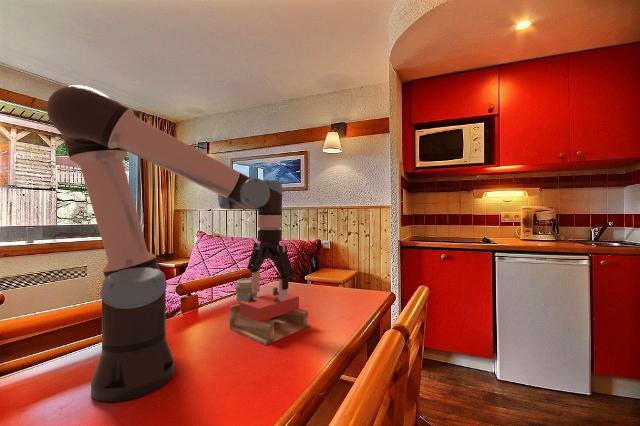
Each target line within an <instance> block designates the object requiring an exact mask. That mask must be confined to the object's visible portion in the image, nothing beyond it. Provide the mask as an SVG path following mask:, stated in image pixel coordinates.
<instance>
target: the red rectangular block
mask: <svg viewBox="0 0 640 426" xmlns="http://www.w3.org/2000/svg"><path fill="white" fill-rule="evenodd" d="M297 309H300V296H298V295H294V294H290V293H287V299H286V300H282V301H279V290H278V295H275V296H274V295H273V294H269V293H267V294H263V295H260V296H257V297H256V298H253V302H249V303H248V302H245V301H241V302H239V315H241V316H243V317H246V318H249V319H251V320H254V321H256V322H262V321H265V320H268V319H271V318H274V317H277V316H279V315H282V314H285V313H288V312H291V311H294V310H297Z"/></svg>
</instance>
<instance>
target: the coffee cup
mask: <svg viewBox="0 0 640 426" xmlns="http://www.w3.org/2000/svg"><path fill="white" fill-rule="evenodd" d="M234 288H235V293H236V300H237V302H236V303H237V304H239V302H241V301H245V302H248V294H250V293H252V281H251V278H250V277H249V278H247V277H246V278H240V279H237V280H236V282H235V284H234ZM252 294H253V298H256V297H258V292H255V293H252Z"/></svg>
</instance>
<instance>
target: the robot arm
mask: <svg viewBox="0 0 640 426" xmlns="http://www.w3.org/2000/svg"><path fill="white" fill-rule="evenodd" d="M46 113H47V116H48V119H49V121H50V122H51V124H52V125H53V127H54V128H55V129H56V130H57V131H58V132H59V133H60V134H61V135H62V138H63V139H62V140H63V141H64V145H65V149H66V151H67V154H68V158H69V160H70V162H73V163H74V164H76V165H78V166H79V167H80V169H81V174H82V177H83V181H84V183H85V186H86V190H87V194H88V197H89V201H90V204H91V208H92V211H93V214H94V218H95V221H96V225H97V227H98V231H99V234H100V238H101V242H102V244H103V245H102V246H103V248H104V252H105V255H106V259H107V263H106V265H105V266H104V268H103V269H102V271H103V275H104V279H103V281H102V286H101V289H100V298H101V353H100V356H99V359H98V362H97V365H96V367H95V371H94V373H93V375H92V379H91V381H90V395H91V397H92V398H93V400H95V401H98V402H102V403H118V402H124V401H125V402H126V401H130V400H134V399H137V398H140V397H143V396H146V395H147V394H148V395H149V394H151V393H153V392H154V391H156V390H158V389H160V388H162V387H163V386H165V385H166V384H167V383H169V381H171V379H173V377H174V375H175V371H176V370H175V360H174V356H173V353H172V351H171V349H170V346H169V344H168V341H167V338H166V337H167V335H166V333H167V332H166V331H167V330H166V329H167V328H166V325H167V324H166V323H167V322H166V320H167V319H166V317H167V316H166V313H167V312H166V311H167V310H166V302H167V300H166V289H167V281H166V275H165V273H164V272H163V271H162V270H161V269H160V267H159V263H158V259H157V256H156V254H154V253H151V252H150V251H148V247H147V244H146V241H145V240H146V239H145V237H144V234H143V230H142V227H141V223H140V222H141V221H140V219H139V217H138V213H137V212H138V211H137V209H136V205H135V201H134V198H133V193H132V191H131V187H130V184H129V179H128V176H127V173H126V170H125V165H124V160H125V159H126V157H127V156H128V155H129V154H128V153H131V155H134V156H136V157H138V158H141V159H143V160H145V161H147V162H149V163H150V164H151V163H152V164H153V165H156V166H157V167H160V168H162V169H164V170H166V171H168V172H170V173H173V174H174V175H177V176H179V177H181V178H183V179H185V180H187V181H190V182H192V183H194V184H195V185H198V186H200V187H203V188H205V189H207V190H209V191H211V192H212V193H214V194H217V201H218V206H219V208H220V209H222V210H231V211H232V210H237V211H238V210H240V211H241V210H245V211H247V210H248V211H249V210H253V211H257V228H259V229H258V230H257V241H258V242H254V243H253V247H252V252H251V254H250V257H249V261H248V264H247V266H246V267H247V268H246V269H247V270H248V271H250V273H251V274H250V275H251V281H252V293H255V292H257V293H258V292H260V291H261V289H260V288H261V285H260V284H261V272H260V271H261V270H260V268H261V267H262V265H263V264H264V263H265V260H266V259H269V260H271V262H273V264H274V266H275V268H276V270H277V272H278V274H279V276H280V277H279V278H278V291H279V301H282V300H286V299H287V294H288V289H289V279H291V278H292V277H294V276H295V274H294V271H293V268H292V264H291V261H290V257H289V253H288V246H287V245H285V244H283V245H280V242H281V241H282V234H283V233H282V229H281V228H282V227H283V226H282V224H283V223H282V222H283V221H282V218H283V217H282V215H283V214H282V209H283V187H282V182H281V181H279V180H274V179H262V178H256V177H250V176H247V175H246V174H244V173H242V172H241V171H238V170H236V169H234V168H232V167H230V166H229V165H226V164H224V163H223V162H221V161H219V160H217V159H215V158H213V157H211V156H210V155H207V154H206V153H204V152H202V151H200V150H198V149H197V148H194V147H193V146H191V145H189V144H187V143H185V142H184V141H182V140H180V139H178V138H176V137H174V136H173V135H171V134H168V133H167V132H165V131H163V130H162V129H161V130H160V129H159V128H157V127H155V126H153V125H152V124H149V123H147V122H146V121H144V120H142V119H140V118H139V117H137V116H136V115H135V114H134V111H133V109H131V108H130V107H128V106H126V105H123V104H122V103H120V102H118V101H117V100H115V99H113V98H111V97H109V96H108V95H106V94H104V93H102V92H101V91H98V90H97V89H94V88H92V87H88V86H84V85H78V84H75V85H66V86H63V87H60V88H58V89H56V90H55V91H54V92H53V93H52V94H51V95H50V96H49V98H48V100H47V103H46Z"/></svg>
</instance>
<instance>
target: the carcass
mask: <svg viewBox="0 0 640 426" xmlns="http://www.w3.org/2000/svg"><path fill="white" fill-rule="evenodd" d="M278 291H279V287H277V286H275V287H272V295H274V296H275V295H278ZM249 302H253V294H252V293H250V294H248V303H249ZM308 327H311V323H310V322H309V310H307V309H306V310H305V309H303V308H302V309H301V308H299V309H297V310H294V311H291V312H288V313H285V314H282V315H279V316H277V317H274V318H271V319H268V320H265V321H262V322H256V321H254V320H251V319H249V318H246V317H243V316H241V315H239V304H238V303H237V304H233V305H230V306H229V330H232V331H234V332H236V333H238V334H241V335H243V336H245V337H247V338H249V339H252V340H254V341H255V342H257V343H259V344H263V345H265V346H267V345H269V344H272V343H274V342H276V341H279V340H281V339H284V338H286V337H288V336H291V335H293V334H295V333H297V332H300V331H301V330H302V331H303V330H305V329H307V328H308Z"/></svg>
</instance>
